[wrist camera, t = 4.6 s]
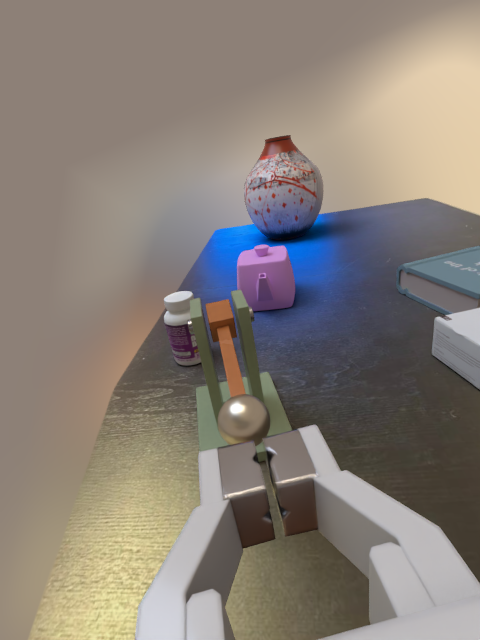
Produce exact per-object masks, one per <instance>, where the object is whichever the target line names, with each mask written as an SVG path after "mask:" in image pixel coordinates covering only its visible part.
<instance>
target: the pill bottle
mask: <svg viewBox="0 0 480 640" xmlns="http://www.w3.org/2000/svg"><path fill="white" fill-rule="evenodd" d="M192 299H194V297H193V294H192V292H189V291H180V292H176V293H173V294H170V295H168V296H166V297H165V298H164V303H165V308H166V309H167V310H168V311H167V312H166V313H165V315H164V323H165V326H166V330H167V333H168V337H169V340H170V344H171V348H172V351H173V355H174V358H175V361H176V362H177V363H178V364H180V365H186V366H188V365H195V364H198V363H200V362H201V359H200V355H199V350H198V346H197V342H196V338H195V334H192V335H191V334H190V332H189V328H188V322H187V320H189V319H191V315H190V300H192Z"/></svg>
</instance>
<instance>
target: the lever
mask: <svg viewBox="0 0 480 640" xmlns="http://www.w3.org/2000/svg"><path fill="white" fill-rule="evenodd" d="M206 310H207V315H208V321H209V325H210V330H211V334H212V339H213V342H217V341H219V343H220V348H221V352H222V357H223V362H224V367H225V372H226V377H227V381H228V386H229V391H230V396H231V398H230V399H228V400H227V401H226V402H225V403H224V404H223V406H222V407H221V409H220V411H219V414H218V429H219V432H220V434H221V436H222V438H223V439H224V440H225V441H226V442H227V443H228V444H229V445H232V444H237V443H241V442H246V441H251V440H254V443H255V447H256V446H258V445H259V444H260V443H262V442H263V441H262V438H263V437H266V436H267V435H268V432H269V429H270V423H271V421H270V414H269V411H268V409H267V407H266V406H265V404H264V403H263V402H262V401H261V400H260V399H258V398H257V397H255V396H252V395H248V394H246V393H245V389H244V385H243V381H242V377H241V373H240V369H239V365H238V361H237V357H236V353H235V349H234V345H233V341H232V338H235V337H237V335H236V329H235V323H234V317H233V314H232V310H231V306H230V303H229V300H223V301H218V302H213V303H208V304H206Z"/></svg>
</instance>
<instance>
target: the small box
mask: <svg viewBox="0 0 480 640" xmlns="http://www.w3.org/2000/svg"><path fill="white" fill-rule="evenodd" d="M432 355H433V356H435V357H436V358H438V359H439V360H440V361H442V362H443V363H444V364H446V365H447V366H449V367H450V368H451V369H453V370H454V371H455V372H457V373H458V374H459V375H461V376H462V377H463V378H465V379H466V380H467V381H469V382H470V383H472V384H473V385H474V386H475V387H477V388H478V389H479V390H480V308H476V309H472V310H467V311H463V312H458V313H454V314H449V315H444V316H440V317H436V318H435V321H434V334H433V346H432Z"/></svg>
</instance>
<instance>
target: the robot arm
mask: <svg viewBox="0 0 480 640" xmlns="http://www.w3.org/2000/svg"><path fill="white" fill-rule="evenodd" d="M262 441H263V447H264V451H265V455H266V464H267V469H268V474H269V479H270V483H271V486H272V490H273V494H274V497H275V498H276V502H277V507H278V512H279V516H280V519H281V523H282V527H283V530H284V534H285V537H286V536H290V535H295V534H299V533H304V532H308V531H312V530H317V529H318V530H319V532H320V533H321V534H322V535H323V536H324V537H325V538H326V539H327V540H329V541H330V542H331V543H332V544H333V545H334V546H335V547H336V548H337V549H338V550H339V551H340V552H341V553H342V554H343V555H344V556H345V557H346V558H347V559H349V560H350V561H351V562H352V563H353V564H354V565H355V566H356V567H357V568H358V569H359V570H360V571H361V572H362V573H363V574H364V575H365V576H366V577H367V578H368V579H369V620H370V623H371V625H368V626H364V627H361V628H357V629H353V630H350V631H346V632H343V633H339V634H335V635H332V636H328V637H325V638H321V639H318V640H480V583H479V582H478V580H477V579H476V578H475V576H474V575H473V573H472V572H471V571H470V569H469V568H468V566H467V565H466V563H465V562H464V561H463V559H462V558H461V556H460V555H459V554H458V552H457V551H456V549H455V548H454V547H453V545H452V544H451V542H450V541H449V539H448V538H447V537H446V535H445V534H444V532H443V531H442V530H441V528H440V527H438V526H437V525H435V524H434V523H432V522H430V521H429V520H427V519H425V518H424V517H422V516H421V515H419V514H417V513H416V512H414V511H412V510H411V509H409V508H408V507H406V506H404V505H403V504H401V503H399V502H398V501H396V500H395V499H393V498H391V497H390V496H388V495H386V494H385V493H383V492H381V491H380V490H378V489H377V488H375V487H373V486H372V485H370V484H368V483H367V482H365V481H364V480H362V479H360V478H359V477H357V476H355V475H354V474H352V473H351V472H349V471H347V470H345V471H341V470H340V468H339V467H338V465H337V463H336V461H335V459H334V457H333V455H332V453H331V451H330V449H329V447H328V445H327V443H326V442H325V440H324V438H323V436H322V434H321V432H320V430H319V428H318V426H316V425H311V426H307V427H303V428H299V429H295V430H291V431H287V432H283V433H279V434H275V435H271V436H267V437H263V438H262ZM198 464H199V485H200V505H201V506H198V507H195V508H194V510H193V511H192V513H191V515H190V517H189V518H188V520H187V522H186V524H185V525H184V527H183V529H182V531H181V532H180V534H179V536H178V538H177V539H176V541H175V543H174V545H173V546H172V548H171V550H170V552H169V553H168V555H167V557H166V559H165V560H164V562H163V564H162V566H161V567H160V569H159V571H158V573H157V574H156V576H155V578H154V580H153V581H152V583H151V585H150V587H149V588H148V590H147V592H146V594H145V595H144V597H143V599H142V601H141V602H140V604H139V606H138V615H137V624H136V634H135V640H235V637H234V634H233V631H232V628H231V625H230V622H229V619H228V616H227V613H226V609H225V605H226V602H227V599H228V596H229V593H230V590H231V586H232V583H233V580H234V577H235V574H236V571H237V568H238V565H239V562H240V559H241V556H242V553H243V548H247V547H250V546H253V545H257V544H260V543H264V542H267V541H271V540H274V539H275V534H274V528H273V522H272V518H271V514H270V510H269V509H270V506H269V501H268V496H267V491H266V487H265V483H264V479H263V475H262V470H261V466H260V465H259V461H258V456H257V451H256V447H255V443H254V440H251V441H246V442H241V443H237V444H232V445H227V446H222V447H218V448H215V449H210V450H205V451H200V452H199V455H198Z"/></svg>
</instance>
